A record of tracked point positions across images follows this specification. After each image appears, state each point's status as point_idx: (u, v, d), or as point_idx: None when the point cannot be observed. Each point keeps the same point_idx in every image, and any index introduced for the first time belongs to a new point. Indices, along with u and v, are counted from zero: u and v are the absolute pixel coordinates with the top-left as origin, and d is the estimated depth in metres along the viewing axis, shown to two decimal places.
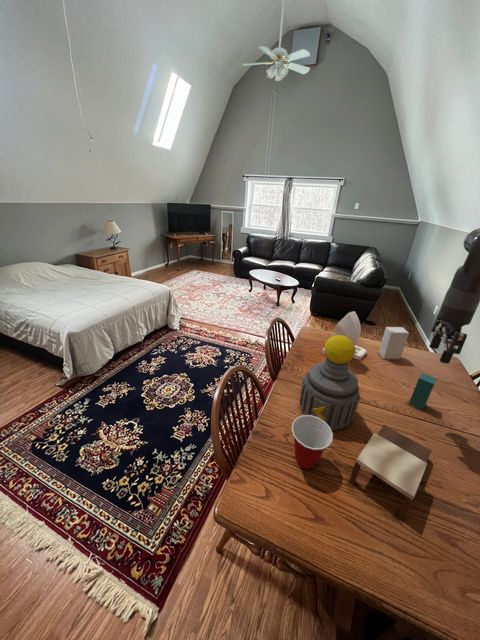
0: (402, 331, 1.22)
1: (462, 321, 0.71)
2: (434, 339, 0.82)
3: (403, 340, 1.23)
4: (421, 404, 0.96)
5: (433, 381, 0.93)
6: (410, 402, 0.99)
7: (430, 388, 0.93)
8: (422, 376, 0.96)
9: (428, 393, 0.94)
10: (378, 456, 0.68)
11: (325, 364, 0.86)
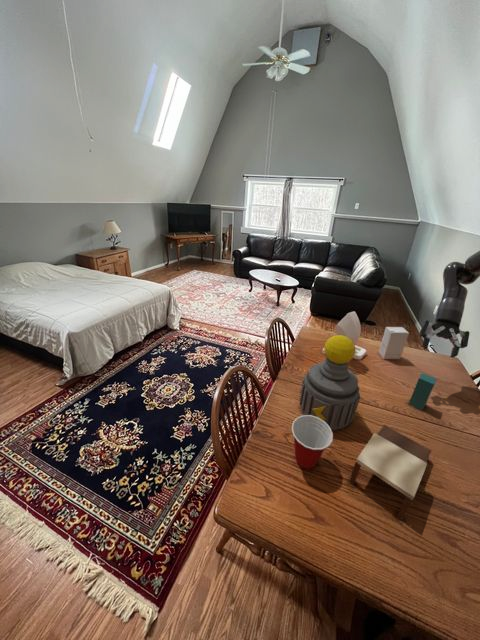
0: (402, 331, 1.22)
1: (436, 317, 1.00)
2: (452, 349, 0.96)
3: (403, 340, 1.23)
4: (421, 404, 0.96)
5: (433, 381, 0.93)
6: (410, 402, 0.99)
7: (430, 388, 0.93)
8: (422, 376, 0.96)
9: (428, 393, 0.94)
10: (378, 456, 0.68)
11: (325, 364, 0.86)
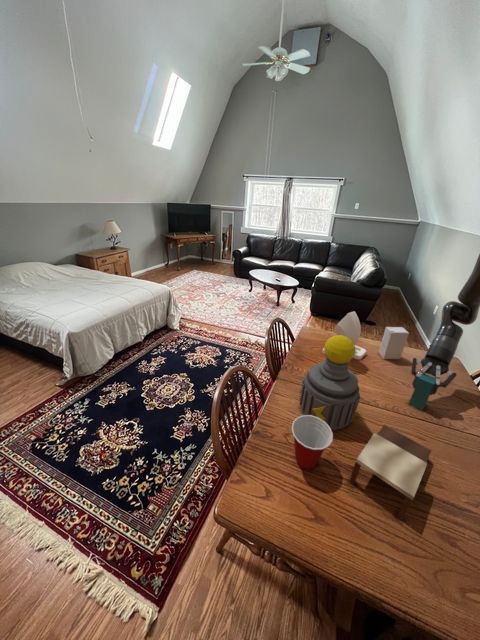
0: (402, 331, 1.22)
1: (426, 353, 1.00)
2: None
3: (403, 340, 1.23)
4: (421, 404, 0.96)
5: (433, 381, 0.93)
6: (410, 402, 0.99)
7: (430, 388, 0.93)
8: (422, 376, 0.96)
9: (428, 393, 0.94)
10: (378, 456, 0.68)
11: (325, 364, 0.86)
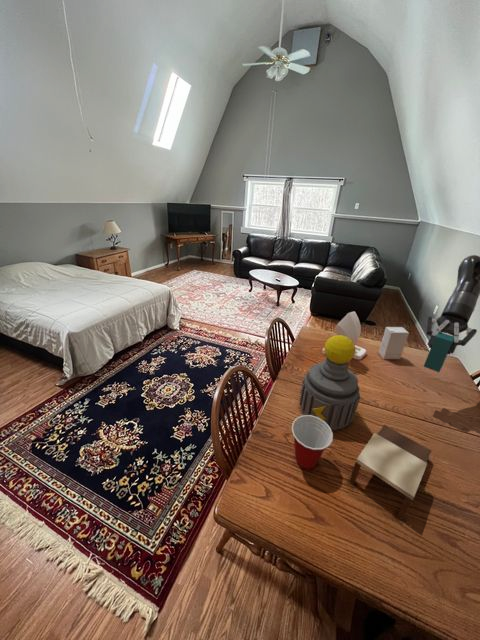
0: (402, 331, 1.22)
1: None
2: None
3: (403, 340, 1.23)
4: (438, 365, 0.89)
5: (451, 339, 0.86)
6: (425, 364, 0.92)
7: (448, 346, 0.86)
8: (438, 334, 0.89)
9: (446, 352, 0.87)
10: (378, 456, 0.68)
11: (325, 364, 0.86)
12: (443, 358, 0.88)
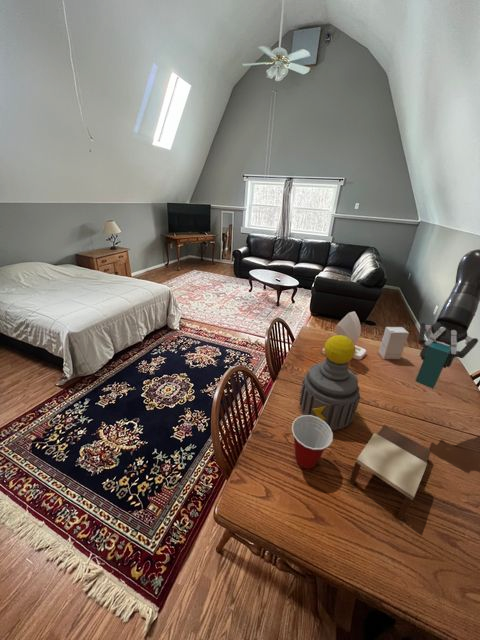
0: (402, 331, 1.22)
1: None
2: None
3: (403, 340, 1.23)
4: (432, 381, 0.76)
5: (447, 350, 0.72)
6: (417, 379, 0.78)
7: (444, 358, 0.72)
8: (432, 344, 0.75)
9: (441, 365, 0.73)
10: (378, 456, 0.68)
11: (325, 364, 0.86)
12: (438, 372, 0.74)
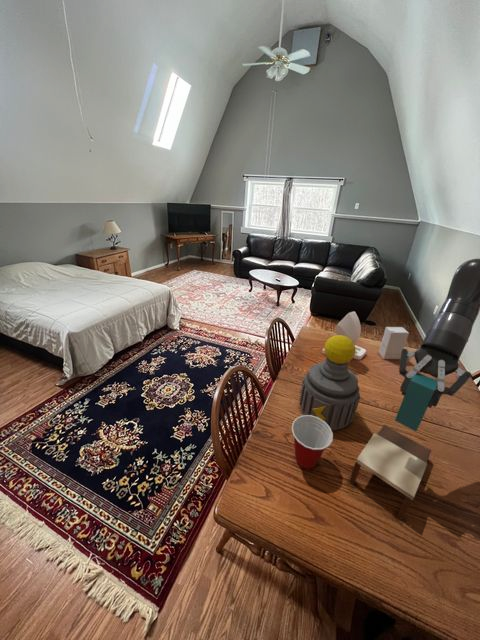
0: (402, 331, 1.22)
1: None
2: None
3: (403, 340, 1.23)
4: (415, 422, 0.61)
5: (433, 385, 0.58)
6: (397, 418, 0.64)
7: (428, 397, 0.57)
8: (415, 377, 0.60)
9: (425, 405, 0.58)
10: (378, 456, 0.68)
11: (325, 364, 0.86)
12: (421, 413, 0.59)
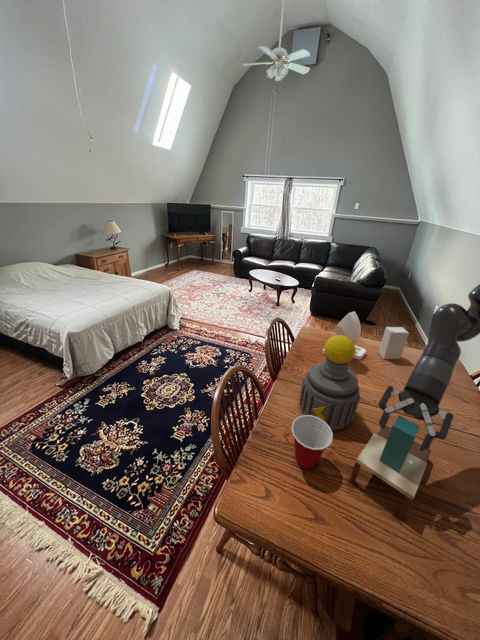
0: (402, 331, 1.22)
1: (406, 383, 0.67)
2: None
3: (403, 340, 1.23)
4: (397, 464, 0.64)
5: (414, 431, 0.61)
6: (381, 458, 0.66)
7: (409, 442, 0.60)
8: (397, 421, 0.63)
9: (407, 449, 0.61)
10: (378, 456, 0.68)
11: (325, 364, 0.86)
12: (403, 456, 0.62)
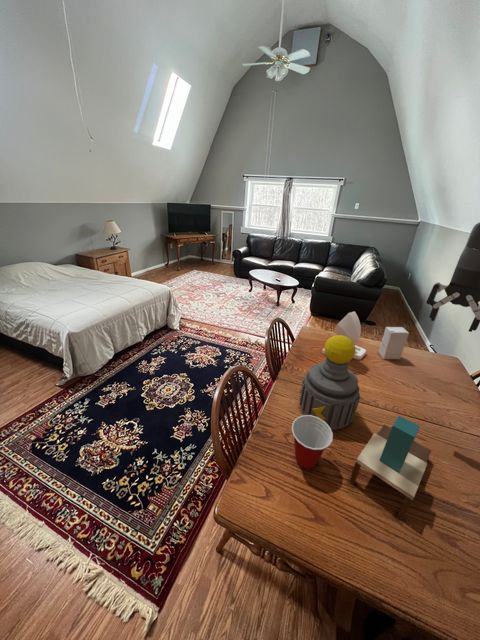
0: (402, 331, 1.22)
1: (452, 277, 0.70)
2: None
3: (403, 340, 1.23)
4: (397, 464, 0.64)
5: (414, 431, 0.61)
6: (381, 458, 0.66)
7: (409, 442, 0.60)
8: (397, 421, 0.63)
9: (407, 449, 0.61)
10: (378, 456, 0.68)
11: (325, 364, 0.86)
12: (403, 456, 0.62)
